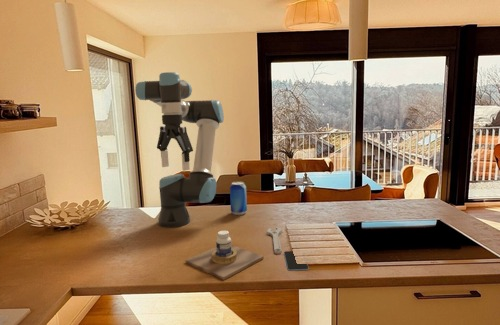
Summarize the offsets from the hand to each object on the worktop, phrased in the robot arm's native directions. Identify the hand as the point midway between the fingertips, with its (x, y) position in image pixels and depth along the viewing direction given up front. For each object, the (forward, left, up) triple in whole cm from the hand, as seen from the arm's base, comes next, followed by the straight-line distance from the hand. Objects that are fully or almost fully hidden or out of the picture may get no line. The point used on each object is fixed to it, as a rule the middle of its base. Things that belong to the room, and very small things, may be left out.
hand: (175, 168), depth 135 cm
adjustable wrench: (+28, +27, -32) cm, 50 cm away
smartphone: (+45, +17, -32) cm, 58 cm away
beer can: (-10, +45, -32) cm, 56 cm away
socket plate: (+25, +1, -32) cm, 40 cm away
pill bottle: (+25, +1, -31) cm, 40 cm away
